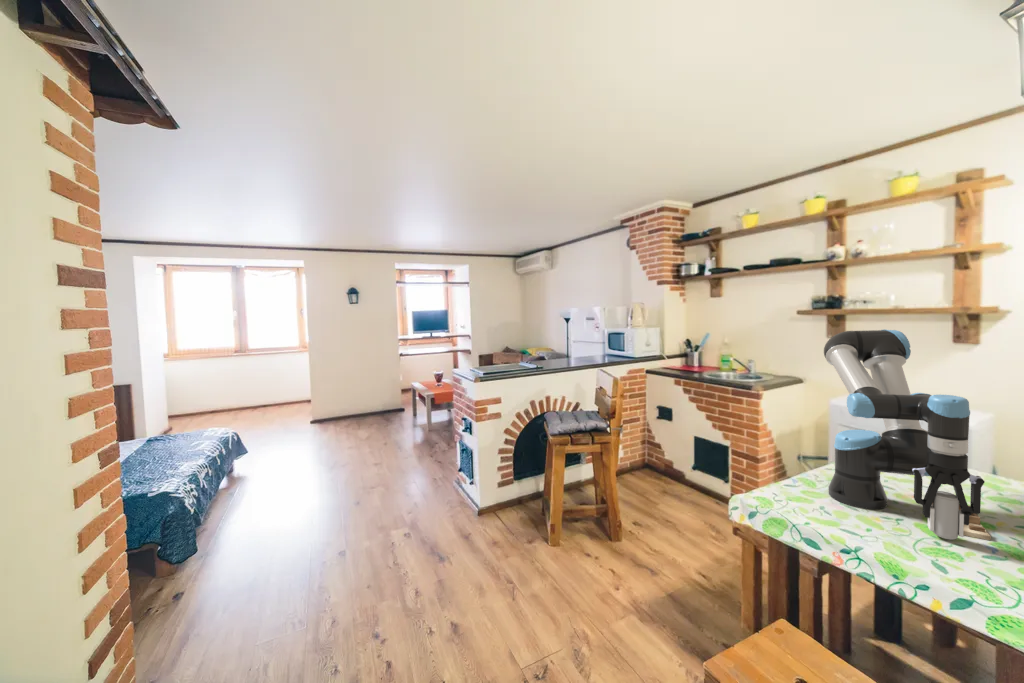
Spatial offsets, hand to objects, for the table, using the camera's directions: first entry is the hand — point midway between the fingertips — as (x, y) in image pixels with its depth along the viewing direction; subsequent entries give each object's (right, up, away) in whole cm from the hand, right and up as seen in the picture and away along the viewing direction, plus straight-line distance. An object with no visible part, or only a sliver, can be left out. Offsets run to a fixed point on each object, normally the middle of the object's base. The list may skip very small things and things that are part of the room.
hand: (944, 531), depth 108 cm
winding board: (+12, -1, +7) cm, 14 cm away
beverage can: (0, -1, 0) cm, 1 cm away
